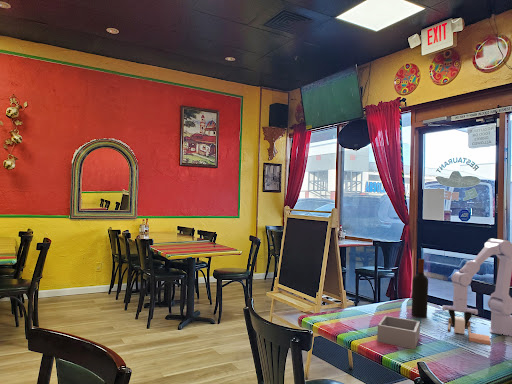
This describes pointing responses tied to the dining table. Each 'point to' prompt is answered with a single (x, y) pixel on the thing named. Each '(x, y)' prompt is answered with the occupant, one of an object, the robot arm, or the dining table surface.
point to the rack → (466, 326)
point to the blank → (459, 325)
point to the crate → (398, 332)
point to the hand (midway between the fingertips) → (459, 327)
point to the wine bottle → (420, 292)
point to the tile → (479, 338)
